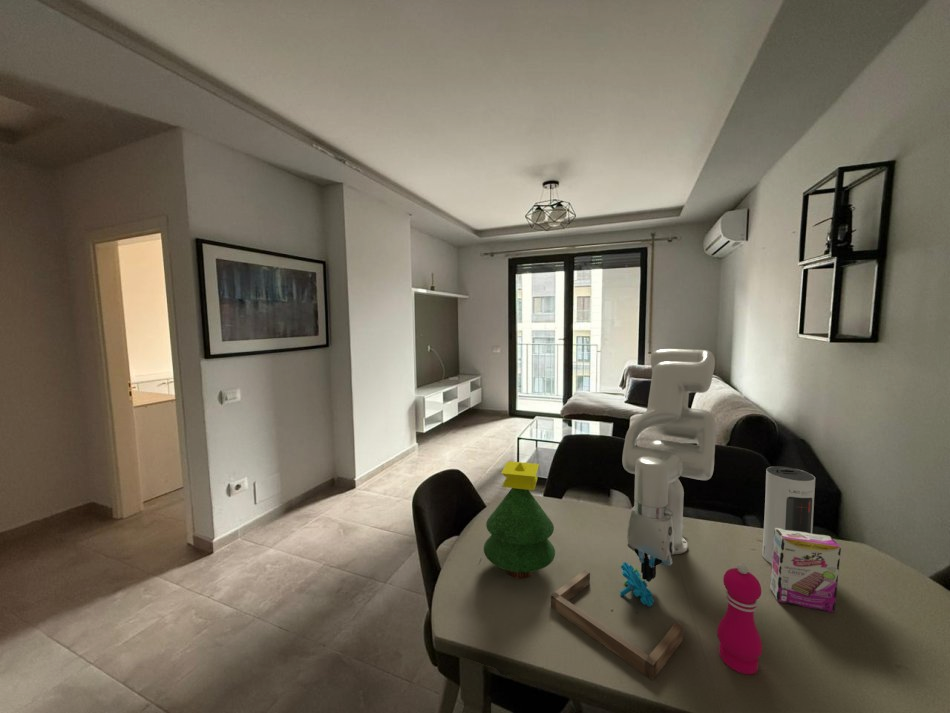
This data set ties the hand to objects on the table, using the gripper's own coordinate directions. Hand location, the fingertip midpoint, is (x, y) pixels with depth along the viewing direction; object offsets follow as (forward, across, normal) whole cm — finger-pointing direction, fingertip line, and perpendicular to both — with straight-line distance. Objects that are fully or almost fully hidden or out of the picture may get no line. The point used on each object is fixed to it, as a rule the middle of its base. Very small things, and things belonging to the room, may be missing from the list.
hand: (648, 578), depth 93 cm
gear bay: (+3, 0, +16) cm, 17 cm away
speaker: (+3, -20, -39) cm, 44 cm away
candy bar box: (+3, -26, -23) cm, 35 cm away
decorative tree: (+3, +26, +19) cm, 33 cm away
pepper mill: (+3, -21, +7) cm, 22 cm away
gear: (+3, +1, +5) cm, 6 cm away
